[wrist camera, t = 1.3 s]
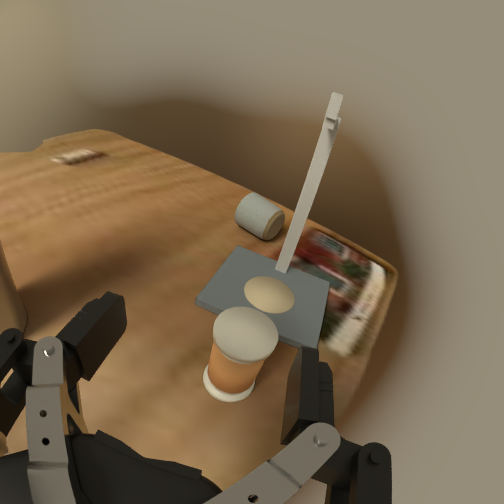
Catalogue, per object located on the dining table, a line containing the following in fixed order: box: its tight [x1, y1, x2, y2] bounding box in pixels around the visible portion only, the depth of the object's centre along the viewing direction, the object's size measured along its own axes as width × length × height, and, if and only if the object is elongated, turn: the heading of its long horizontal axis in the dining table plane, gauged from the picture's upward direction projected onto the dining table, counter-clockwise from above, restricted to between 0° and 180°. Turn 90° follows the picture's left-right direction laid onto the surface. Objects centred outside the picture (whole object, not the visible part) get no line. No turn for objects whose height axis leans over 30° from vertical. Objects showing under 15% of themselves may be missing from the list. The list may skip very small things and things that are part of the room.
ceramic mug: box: [235, 193, 285, 240], centre depth 59 cm, size 11×8×8 cm
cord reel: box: [203, 307, 278, 403], centre depth 28 cm, size 6×6×10 cm
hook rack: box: [195, 92, 343, 348], centre depth 36 cm, size 18×16×31 cm
